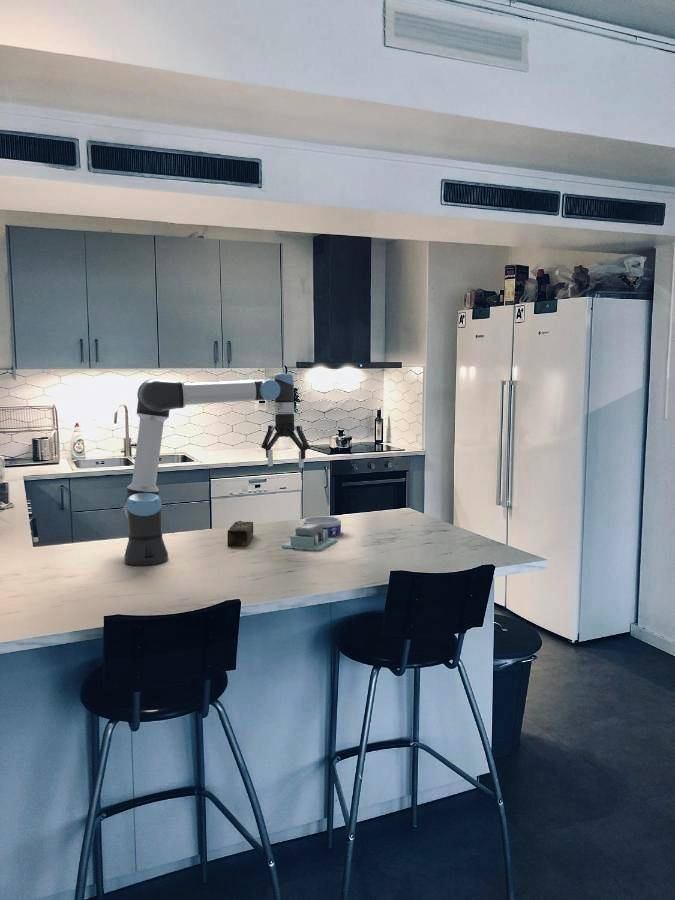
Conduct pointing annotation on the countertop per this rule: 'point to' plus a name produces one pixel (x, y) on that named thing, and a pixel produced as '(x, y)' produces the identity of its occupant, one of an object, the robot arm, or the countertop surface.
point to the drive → (310, 531)
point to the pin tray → (309, 542)
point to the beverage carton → (240, 533)
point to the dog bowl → (326, 524)
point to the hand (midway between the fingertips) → (285, 466)
